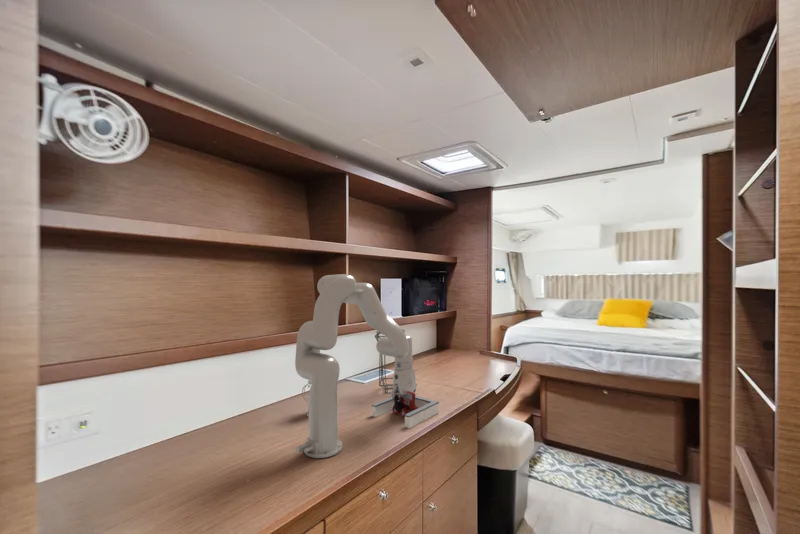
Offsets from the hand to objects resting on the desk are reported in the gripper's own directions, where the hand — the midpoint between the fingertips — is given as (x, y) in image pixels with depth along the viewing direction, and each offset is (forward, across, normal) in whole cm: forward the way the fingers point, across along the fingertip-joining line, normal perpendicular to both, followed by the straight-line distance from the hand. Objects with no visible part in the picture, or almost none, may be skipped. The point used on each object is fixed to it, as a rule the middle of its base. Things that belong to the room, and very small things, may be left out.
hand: (404, 407), depth 145 cm
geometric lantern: (+3, +20, +26) cm, 33 cm away
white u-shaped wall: (+3, 0, 0) cm, 3 cm away
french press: (+3, -22, +32) cm, 39 cm away
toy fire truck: (+3, 0, 0) cm, 3 cm away
